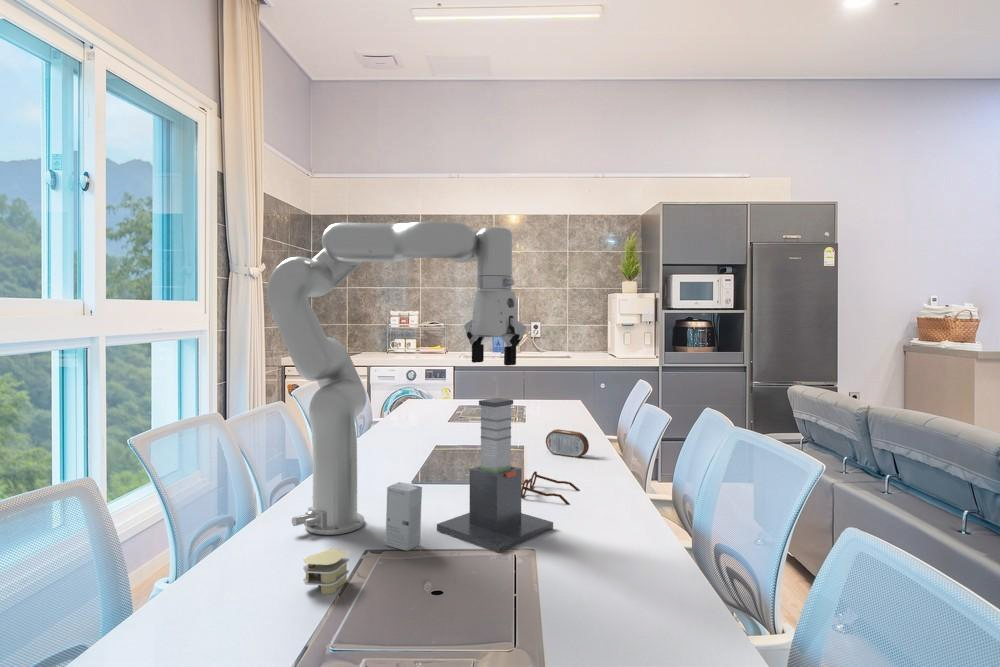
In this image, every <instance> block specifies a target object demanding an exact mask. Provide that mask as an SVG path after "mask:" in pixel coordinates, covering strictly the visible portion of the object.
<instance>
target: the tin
mask: <svg viewBox="0 0 1000 667" xmlns="http://www.w3.org/2000/svg"><path fill="white" fill-rule="evenodd" d="M545 445H546V449H547V450H548V451H549V452H550V453H551V454H553V455H557V456H561V457H568V458H574V457H575V458H576V459H577V458H581V457H584V456H585V455H586V454H587V453H588V451H589V448H590V443H589V440H588V438H587V437H586V436H585V435H584V433H582V432H579V431H573V430H565V429H557V428H556V429H554V430H552V431H550V432H549V433H548V434H547V435H546V438H545Z"/></svg>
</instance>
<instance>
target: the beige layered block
mask: <svg viewBox="0 0 1000 667" xmlns="http://www.w3.org/2000/svg"><path fill="white" fill-rule="evenodd" d="M349 553H350V551H349V550H348V551H346V550H341V549H336V548H328V549H326V550H323V551H319V552H318V553H315V554H312V555H309V556H307V557H305V558H303V563H304V564H306V565H305V566H303V568H302V569H303V571H304V573H305V577H304V578H303V583H304V585H307V586H318V587H320V593H321V594H322V595H330V594H334V593H335V592H336V591H337V589H338V588H339V587H341V586H343V585H344V584H345V583H346V582H348V576H347V575H348V574H349V573H350V570H349V569H348V567H347V564H348V562H349V561H350V558H347V557H345V556H346V555H347V554H349Z"/></svg>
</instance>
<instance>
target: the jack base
mask: <svg viewBox="0 0 1000 667" xmlns="http://www.w3.org/2000/svg"><path fill="white" fill-rule="evenodd" d="M480 466H481V465H479V466H475V467H472V468H469V512H468V513H465V514H461V515H459V516H456V517H453V518H451V519H447V520H445V521H441V522H439V523H436V531H437V532H438V533H442V534H444V535H447V536H449V537H453V538H456V539H459V540H461V541H465V542H467V543H471V544H473V545H476V546H479V547H481V548H484V549H487V550H490V551H493V552H495V551H496V552H495V553H498V552H500V553H501V551H502V552H504V551H506V550H508V549H511V548H513V547H516V546H517V545H520V544H522V543H525V542H526V541H530V540H532V539H533V538H536V537H538V536H540V535H543V534H545V533H547V532H549V531H550V532H551V530H554V522H553V521H550V520H546V519H544V518H540V517H536V516H533V515H530V514H525V513H523V512H522V497H521V489H522V479H523V478H522V475H523V473H522V472H523V471H522V468H521V467H517V466H514V465H513V466H512V465H511V470H508V471H504V472H501V473H498V474H496V473H492V472H488V471H484V470H480Z"/></svg>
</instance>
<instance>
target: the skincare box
mask: <svg viewBox="0 0 1000 667" xmlns="http://www.w3.org/2000/svg"><path fill="white" fill-rule="evenodd" d="M422 491H423V486H420V485H416V484H412V483H405V482H400V481H399V482H396V483H394V484H391V485H389V486H387V488H386V512H385V513H386V515H385V516H386V518H385V522H386V523H385V545H386V546H388V547H390V548H391V547H392V548H394V549H399V550H403V551H405V552H406V551H411V550H412V549H414V548H417V547H418V546H419V545H420V544H421V529H422V528H421V527H422V526H421V524H422V523H421V522H422V500H423V498H422V493H423V492H422Z"/></svg>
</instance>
